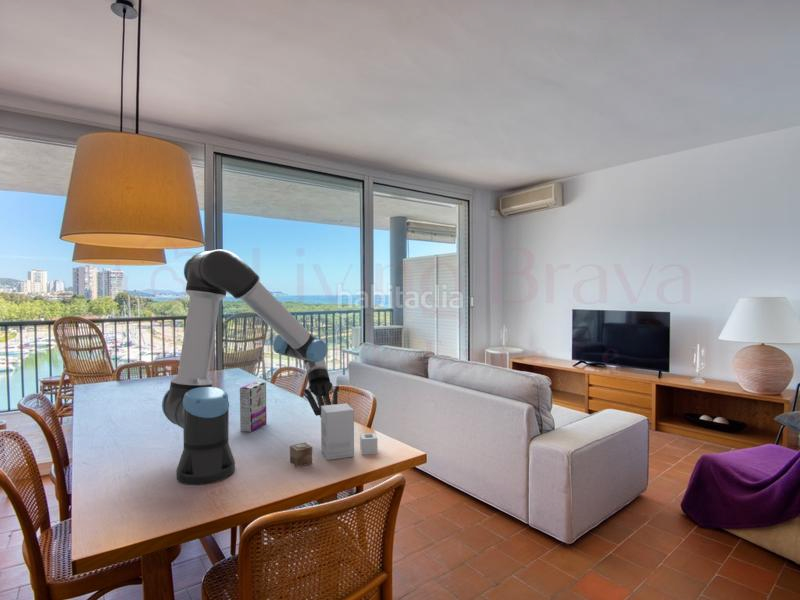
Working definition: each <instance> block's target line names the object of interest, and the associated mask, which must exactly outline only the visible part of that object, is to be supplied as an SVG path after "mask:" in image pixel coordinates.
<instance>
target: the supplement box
mask: <svg viewBox="0 0 800 600" xmlns="http://www.w3.org/2000/svg"><path fill="white" fill-rule="evenodd" d="M320 427H321V428H320V435H321V436H320V439H321V440H320V445H321V446H320V451H321V453H322V455H323V457H324V458H325V460H326V461H333V460H338V459H344V458H352V457H355V410H354V409H353V408H352V407H351V406H350V404H348V403H339V404H338V403H337V404H335V405H333V404H331V405H325V404H324V406H321V417H320Z"/></svg>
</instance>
